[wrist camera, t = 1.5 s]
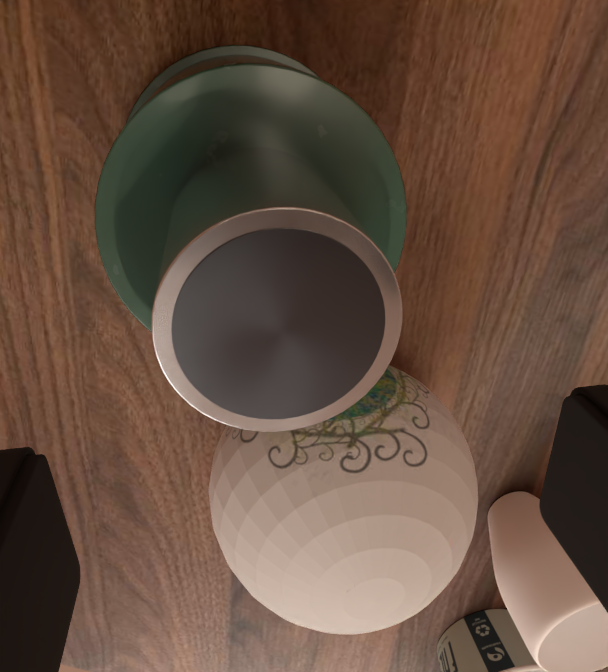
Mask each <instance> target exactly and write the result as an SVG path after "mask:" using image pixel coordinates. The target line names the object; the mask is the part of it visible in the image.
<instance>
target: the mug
mask: <svg viewBox="0 0 608 672" xmlns="http://www.w3.org/2000/svg"><path fill="white" fill-rule="evenodd" d="M539 503H540V499H538V498H537V497H535V496H533V495H532V494H530V493H528V492H523V491H517V492H512V493H509V494H506V495H504V496H502V497H500V498H499V499H498V500H496V501H495V502H494V503H493V505H492V506H491V507H490V509H489V512H488V526H489V535H490V543H491V552H492V560H493V567H494V573H495V578H496V582H497V585H498V589H499V592H500V594H501V597H502V599H503V601H504V604H505V606H506V608H507V610H508V612H509V614H510V616H511V618H512V620H513V621H514V623H515V625H516V627H517V629H518V631H519V633H520V635H521V637H522V639H523V641H524V643H525V645H526V646H527V648H528V650H529V652H530V654H531V656H532V657H533V659H534V660H535V662H536V663H537V664H538V665H539V666H540V667H541V668H542V669H543V670H545V671H547V672H594V671H597V670H600V669H603V668H605V667H607V666H608V613H607V611H606V610H605V608H604V607H603V605H602V604H601V603H600V601H599V600H598V598H597V597H596V595H595V594H594V592H593V591H592V590H591V588H590V587H589V585H588V584H587V582H586V581H585V579H584V578H583V577H582V575H581V574H580V572H579V571H578V569H577V568H576V567H575V565H574V564H573V562H572V561H571V559H570V558H569V556H568V555H567V554H566V552H565V551H564V549H563V548H562V546H561V545H560V544H559V542H558V541H557V539H556V538H555V536H554V535H553V533H552V532H551V531H550V529H549V528H548V526H547V525H546V523H545V522H544V520H543V518H542V516H541V513H540V507H539Z"/></svg>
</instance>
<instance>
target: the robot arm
mask: <svg viewBox="0 0 608 672" xmlns="http://www.w3.org/2000/svg"><path fill="white" fill-rule="evenodd" d="M539 507H540V513H541V516H542V518H543V520H544V522H545V523H546V525H547V526H548V528H549V529H550V531H551V532H552V533H553V535H554V536H555V538H556V539H557V541H558V542H559V544H560V545H561V546H562V548H563V549H564V551H565V552H566V554H567V555H568V556H569V558H570V559H571V561H572V562H573V564H574V565H575V567H576V568H577V569H578V571H579V572H580V574H581V575H582V577H583V578H584V579H585V581H586V582H587V584H588V585H589V587H590V588H591V590H592V591H593V592H594V594H595V595H596V597H597V598H598V600H599V601H600V603H601V604H602V605H603V607H604V608H605V610H606V611H607V613H608V385H596V386H586V387H578V388H575V389H574V390H573V391H572V392H571V395H570V396H568V397H566V398H565V399H564V401H563V404H562V409H561V413H560V417H559V421H558V425H557V430H556V434H555V438H554V442H553V447H552V451H551V455H550V459H549V463H548V468H547V472H546V476H545V480H544V485H543V489H542V493H541V497H540V503H539ZM79 584H80V565H79V561H78V558H77V554H76V551H75V548H74V545H73V541H72V538H71V535H70V532H69V529H68V525H67V522H66V519H65V516H64V513H63V509H62V506H61V503H60V500H59V497H58V493H57V490H56V487H55V484H54V481H53V477H52V474H51V471H50V468H49V464H48V461H47V459H46V457H45V456H44V455H42V454H40V455H35V452H34V451H33V449H32V448H30V447H24V448H15V449H6V450H0V672H58V671H59V667H60V663H61V659H62V655H63V651H64V647H65V642H66V638H67V634H68V630H69V626H70V622H71V618H72V614H73V610H74V605H75V601H76V597H77V593H78V589H79Z"/></svg>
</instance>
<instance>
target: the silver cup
mask: <svg viewBox="0 0 608 672" xmlns="http://www.w3.org/2000/svg"><path fill="white" fill-rule="evenodd" d="M401 327H402V299H401V292H400V288H399V285H398V282H397V278H396V276H395V274H394V272H393V269H392V267H391V265H390V263H389V262H388V260H387V259H386V257H385V256H384V254H383V253H382V251H381V250H380V249H379V247H378V246H377V245H376V244H375V242H374V241H373V240H372V239H371V237H370V236H369V235H368V234H367V232H366V231H365V230H364V229H363V227H362V226H361V225H360V224H359V222H358V221H357V220H356V219H355V217H354V216H353V215H352V214H351V212H350V211H349V210H348V209H347V207H346V206H345V205H344V204H343V202H342V201H341V200H340V199H339V197H338V196H337V195H336V194H335V192H334V191H333V190H332V189H331V187H330V186H329V185H328V184H327V182H326V181H325V180H324V179H323V178H322V177H321V175H320V174H319V173H318V172H317V171H316V170H315V169H314V168H312V167H311V166H310V165H309V164H308V163H306V162H304V161H303V160H301V159H300V158H298V157H296V156H294V155H292V154H289V153H287V152H284V151H280V150H277V149H272V148H266V147H248V148H240V149H236V150H232V151H228V152H226V153H223V154H221V155H218V156H216V157H215V158H213V159H211V160H210V161H208V162H206V163H205V164H204V165H202V166H201V167H200V168H199V169H197V170H196V171H195V172H194V173H193V175H192V176H191V177H190V178H189V179H188V180H187V182H186V183H185V184H184V186H183V187H182V189H181V191H180V193H179V195H178V197H177V199H176V201H175V204H174V207H173V211H172V215H171V220H170V225H169V230H168V235H167V240H166V245H165V250H164V255H163V260H162V264H161V269H160V274H159V279H158V284H157V289H156V294H155V299H154V304H153V309H152V318H151V333H152V343H153V347H154V350H155V354H156V358H157V360H158V363H159V365H160V367H161V370H162V372H163V373H164V375H165V376H166V378H167V380H168V381H169V383H170V384H171V386H172V387H173V388H174V389H175V390H176V392H177V393H178V394H179V395H180V396H181V397H182V398H183V399H184V400H185V401H186V402H187V403H188V404H190V405H191V406H192V407H194V408H195V409H197V410H198V411H199V412H201V413H202V414H204V415H206V416H208V417H210V418H212V419H213V420H216V421H218V422H221V423H223V424H226V425H228V426H232V427H236V428H240V429H244V430H251V431H260V432H279V431H290V430H296V429H301V428H305V427H308V426H312V425H315V424H318V423H321V422H323V421H326V420H328V419H330V418H332V417H334V416H336V415H338V414H340V413H342V412H343V411H345V410H346V409H348V408H349V407H351V406H352V405H354V404H355V403H356V402H357V401H359V400H360V399H361V398H362V397H364V396H365V395H366V394H367V393H368V392H369V391H370V390H371V389H372V387H373V386H374V385H375V384H376V383H377V382H378V380H379V379H380V378H381V376H382V375H383V374H384V372H385V370H386V369H387V367H388V365H389V364H390V362H391V360H392V357H393V355H394V353H395V350H396V348H397V345H398V341H399V337H400V334H401Z"/></svg>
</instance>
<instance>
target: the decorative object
mask: <svg viewBox="0 0 608 672" xmlns="http://www.w3.org/2000/svg"><path fill="white" fill-rule="evenodd" d="M209 499H210V508H211V516H212V523H213V530H214V532H215V535H216V537H217V540H218V542H219V545H220V547H221V549H222V552H223V554H224V556H225V559H226V561H227V563H228V566H229V567H230V568H231V570H232V571H233V572H234V574H235V575H236V576H237V578H238V579H239V580H240V581H241V583H242V584H243V585H244V586H245V588H246V589H247V590H248V591H249V593H250V594H251V595H252V596H253V597H254V598H255V599H257V600H258V601H259V602H260V603H262V604H263V605H264V606H265V607H267V608H268V609H270V610H271V611H273V612H274V613H276V614H277V615H279V616H280V617H282V618H284V619H286V620H288V621H290V622H292V623H294V624H296V625H299V626H303V627H306V628H310V629H313V630H317V631H321V632H325V633H333V634H361V633H368V632H373V631H377V630H381V629H384V628H388V627H390V626H393V625H395V624H398V623H400V622H402V621H404V620H406V619H408V618H410V617H412V616H413V615H415V614H417V613H418V612H419V611H421V610H422V609H423V608H425V607H426V606H428V605H429V604H430V603H431V602H432V601H433V600H434V599H435V598H436V597H437V596H438V595H439V594H440V593H441V591H442V590H443V589H444V588H445V587H446V586H447V585H448V584H449V583H450V581H451V580H452V578H453V577H454V576H455V574H456V573H457V572H458V570H459V568H460V565H461V563H462V561H463V559H464V557H465V554H466V552H467V550H468V547H469V545H470V543H471V540H472V538H473V533H474V528H475V523H476V516H477V506H478V489H477V479H476V473H475V466H474V461H473V458H472V455H471V452H470V449H469V446H468V444H467V441H466V439H465V437H464V435H463V433H462V431H461V428H460V426H459V425H458V423H457V422H456V420H455V419H454V417H453V416H452V414H451V413H450V411H449V410H448V409H447V408H446V406H445V405H444V404H443V403H442V402H441V401H440V399H439V398H438V397H437V396H436V395H435V394H434V393H433V392H431V391H430V390H429V389H428V388H427V387H426V386H425V385H424V384H422V383H421V382H420V381H418V380H416V379H415V378H413V377H412V376H410V375H408V374H407V373H405V372H403V371H401V370H399V369H397V368H395V367H393V366H392V365H388V367H387V369H386V370H385V372H384V374H383V375H382V376H381V378H380V379H379V380H378V382H377V383H376V384H375V385H374V386H373V387H372V389H371V390H370V391H369V392H368V393H367V394H366V395H365V396H364V397H362V398H361V399H360V400H359V401H357V402H356V403H355V404H354V405H352V406H351V407H349V408H348V409H346V410H345V411H343V412H342V413H340V414H338V415H336V416H334V417H332V418H330V419H328V420H326V421H323V422H321V423H318V424H315V425H312V426H308V427H305V428H301V429H296V430H290V431H279V432H260V431H251V430H244V429H240V428H236V427H232V426H228V425H226V426H225V428H224V431H223V433H222V435H221V437H220V440H219V442H218V445H217V447H216V449H215V452H214V457H213V463H212V470H211V477H210V484H209Z"/></svg>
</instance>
